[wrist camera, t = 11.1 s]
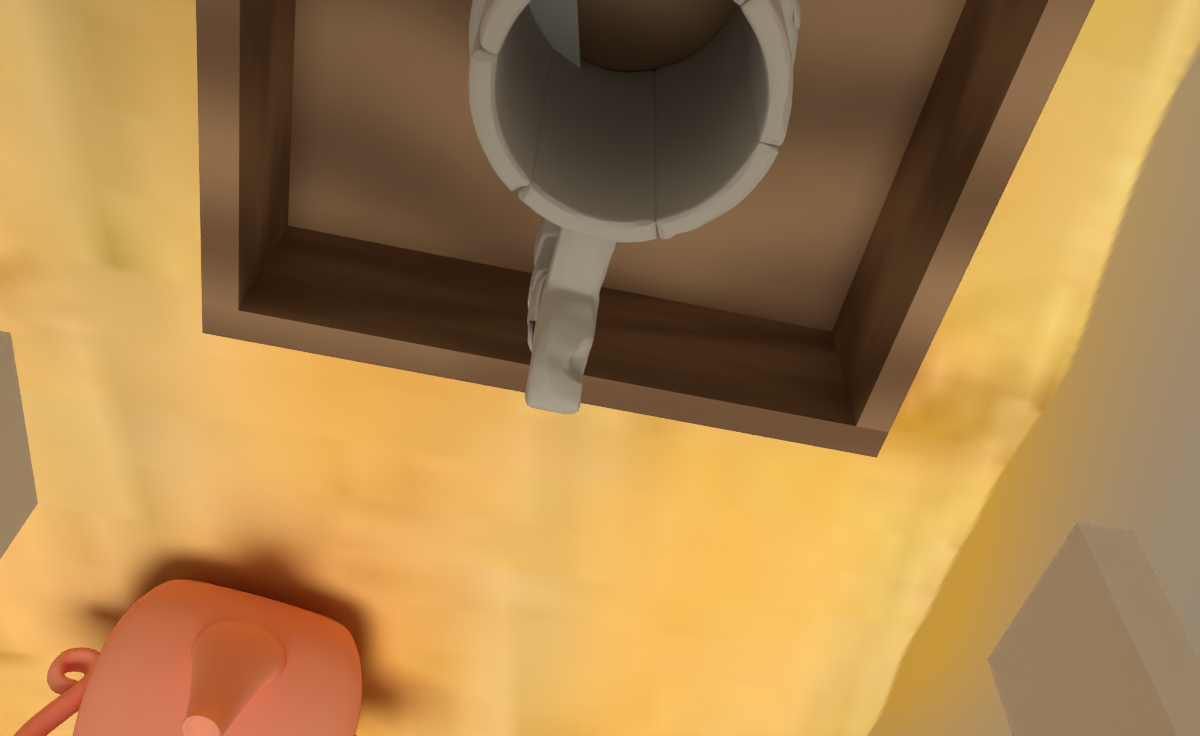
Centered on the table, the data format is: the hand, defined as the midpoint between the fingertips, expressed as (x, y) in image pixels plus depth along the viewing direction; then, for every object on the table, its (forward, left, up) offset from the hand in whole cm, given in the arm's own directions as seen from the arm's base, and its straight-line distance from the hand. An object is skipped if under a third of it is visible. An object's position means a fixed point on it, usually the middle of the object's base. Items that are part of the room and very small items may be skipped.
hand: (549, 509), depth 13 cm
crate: (+1, +1, -21) cm, 21 cm away
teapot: (+32, -8, -21) cm, 39 cm away
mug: (0, +1, -20) cm, 20 cm away
